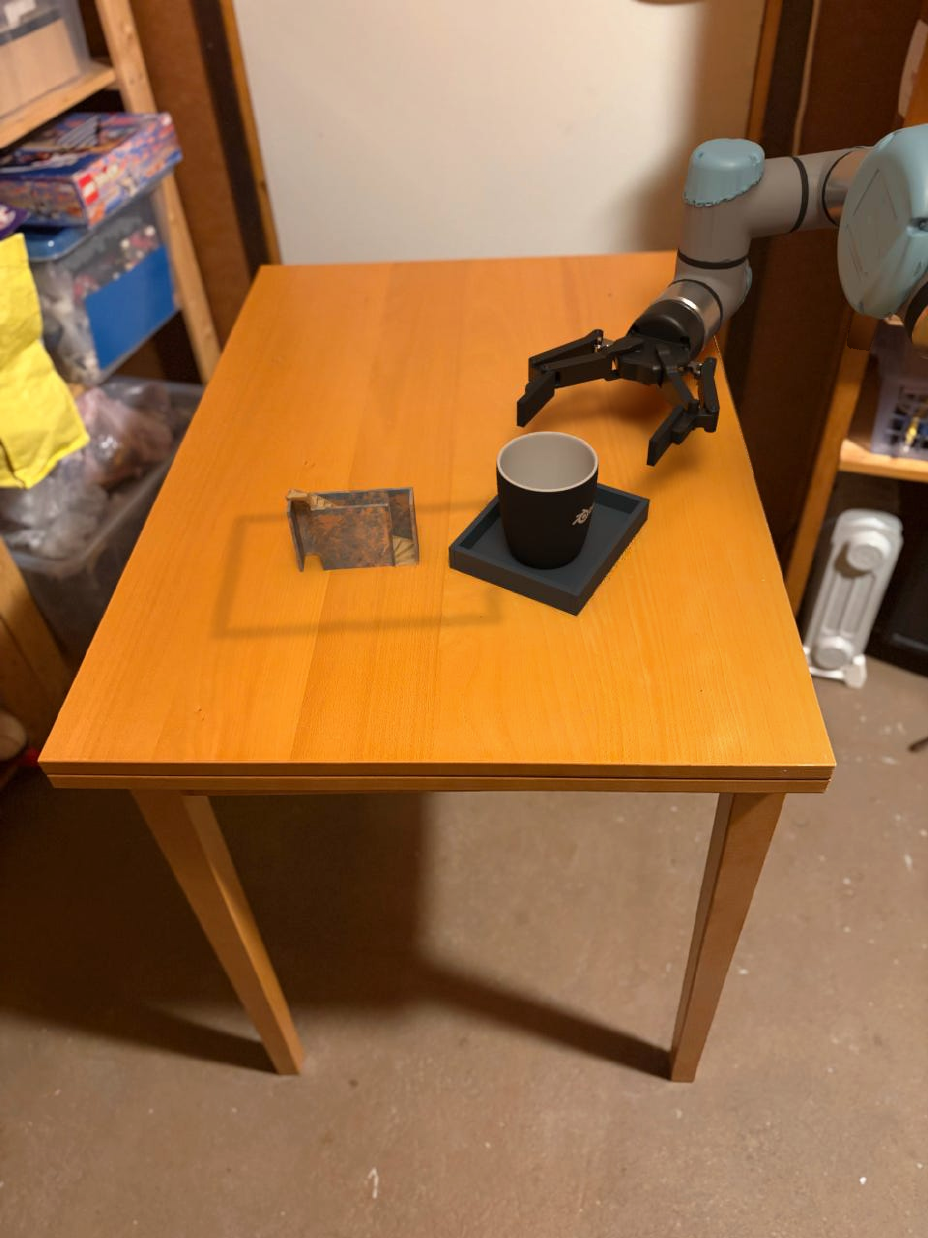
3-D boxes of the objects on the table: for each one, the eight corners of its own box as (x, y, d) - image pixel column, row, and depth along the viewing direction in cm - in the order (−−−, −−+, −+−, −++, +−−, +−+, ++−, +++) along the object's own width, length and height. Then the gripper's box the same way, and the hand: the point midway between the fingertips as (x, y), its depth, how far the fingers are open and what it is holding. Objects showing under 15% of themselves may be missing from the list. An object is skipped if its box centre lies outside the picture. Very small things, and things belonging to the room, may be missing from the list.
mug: (579, 588, 84) (584, 499, 77) (485, 569, 86) (482, 481, 79) (609, 508, 92) (617, 420, 85) (522, 492, 94) (523, 406, 87)
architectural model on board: (300, 578, 88) (281, 496, 81) (303, 556, 90) (284, 475, 83) (419, 571, 88) (410, 489, 81) (419, 550, 90) (410, 468, 83)
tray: (647, 519, 91) (650, 498, 90) (577, 616, 82) (578, 596, 81) (528, 480, 97) (528, 460, 95) (449, 567, 88) (448, 547, 86)
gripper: (780, 392, 97) (705, 504, 85) (566, 338, 107) (471, 432, 94) (795, 325, 92) (717, 435, 79) (568, 275, 101) (468, 366, 89)
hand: (583, 433), depth 87 cm, fingers open, 13 cm apart
